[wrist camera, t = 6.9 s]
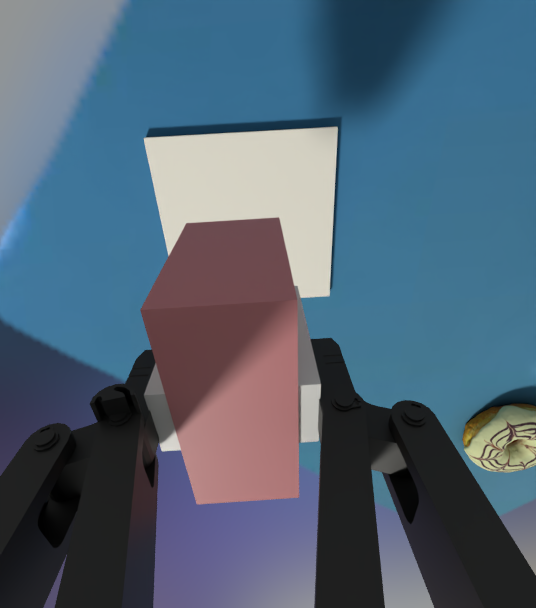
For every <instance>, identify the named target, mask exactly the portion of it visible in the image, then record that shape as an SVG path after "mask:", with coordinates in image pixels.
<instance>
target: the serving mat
mask: <svg viewBox="0 0 536 608" xmlns="http://www.w3.org/2000/svg"><path fill="white" fill-rule="evenodd" d="M337 135H338V127H320V128H302V129H284V130H267V131H249V132H232V133H214V134H197V135H179V136H162V137H146V138H144V142H145V147H146V152H147V157H148V161H149V166H150V171H151V175H152V180H153V185H154V189H155V194H156V199H157V204H158V208H159V213H160V218H161V222H162V227H163V232H164V236H165V241H166V246H167V250H168V255H170V253H171V251H172V249H173V247H174V245H175V244H176V242H177V240H178V238H179V236H180V234H181V232H182V230H183V228H184V226H185V225H186V223H197V222H213V221H229V220H245V219H261V218H277V217H279V219H280V223H281V228H282V232H283V237H284V241H285V246H286V250H287V255H288V259H289V264H290V268H291V273H292V278H293V282H294V286H298V290H299V294H300V298H304V297H321V296H329V294H330V274H331V254H332V234H333V214H334V194H335V175H336V155H337Z"/></svg>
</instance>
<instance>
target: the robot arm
mask: <svg viewBox="0 0 536 608" xmlns="http://www.w3.org/2000/svg"><path fill="white" fill-rule="evenodd" d="M294 287H295V291H296V296H297V306H298V430H299V443H300V442H315V441H319V437H320V442H321V452H320V478H319V505H318V530H317V531H318V532H317V555H316V581H315V606H314V608H385V605H384V595H383V584H382V574H381V564H380V555H379V544H378V534H377V524H376V514H375V503H374V493H373V483H372V472H371V470H375V471H380V472H382V474H383V476H384V479H385V481H386V484H387V486H388V489H389V492H390V494H391V497H392V499H393V502H394V504H395V507H396V510H397V512H398V515H399V517H400V520H401V523H402V525H403V528H404V530H405V533H406V535H407V538H408V541H409V543H410V546H411V548H412V551H413V554H414V556H415V559H416V561H417V564H418V566H419V569H420V571H421V574H422V577H423V579H424V582H425V584H426V587H427V589H428V592H429V594H430V597H431V600H432V603H433V605H434V608H536V575H535V574H534V572H533V570H532V569H531V567H530V566H529V564H528V563H527V561H526V559H525V558H524V556H523V554H522V553H521V551H520V550H519V548H518V547H517V545H516V544H515V542H514V540H513V539H512V537H511V535H510V534H509V532H508V531H507V529H506V528H505V526H504V524H503V523H502V521H501V519H500V518H499V516H498V515H497V513H496V511H495V510H494V508H493V507H492V505H491V503H490V502H489V500H488V499H487V497H486V495H485V494H484V492H483V491H482V489H481V487H480V486H479V484H478V483H477V481H476V480H475V478H474V476H473V475H472V473H471V472H470V470H469V468H468V467H467V465H466V464H465V462H464V460H463V459H462V457H461V456H460V454H459V452H458V451H457V449H456V448H455V446H454V444H453V443H452V441H451V440H450V438H449V436H448V435H447V433H446V432H445V430H444V428H443V427H442V425H441V424H440V422H439V421H438V419H437V417H436V416H435V414H434V413H433V412H432V411H431V410H430V409H429V408H428V407H426V406H425V405H423V404H421V403H418V402H415V401H407V400H404V401H400V402H397V403H396V404H395V405H394V406H393V407H392V409H389V408H383V407H378V406H375V405H371V404H369V403H367V402H365V401H364V400H363V399H362V398H361V397H360V396H359V394H357V393H356V392H355V390H354V387H353V384H352V382H351V379H350V376H349V373H348V370H347V367H346V364H345V361H344V359H343V356H342V353H341V350H340V347H339V345H338V344H337V343H336V342H335V341H334V340H333V339H332V338H323V339H310V336H309V332H308V328H307V323H306V319H305V315H304V311H303V307H302V302H301V298H300V294H299V290H298V286H294ZM90 405H91V408H92V410H93V412H94V414H95V417H96V419H97V421H98V422H97V423H94V424H92V425H89V426H86V427H83V428H80V429H77V430H73V431H71V430H70V428H69V427H68V426H67V425H65V424H61V423H56V424H51V425H47V426H45V427H43V428H41V429H39V430H37V431H36V432H35V433H33V434H32V435H31V436H30V437H29V438H28V439H27V440H26V441H25V442H24V444H23V445H22V447H21V448H20V449H19V451H18V452H17V454H16V455H15V457H14V458H13V459H12V461H11V462H10V464H9V465H8V466H7V468H6V469H5V471H4V472H3V473H2V475H1V476H0V608H43V607H44V604H45V602H46V600H47V598H48V596H49V593H50V591H51V589H52V587H53V584H54V582H55V580H56V577H57V575H58V573H59V570H60V568H61V566H62V564H63V561H64V559H65V557H66V555H67V557H66V562H65V566H64V570H63V574H62V579H61V583H60V587H59V591H58V596H57V600H56V605H55V608H153V594H154V568H155V542H156V541H155V540H156V515H157V514H156V513H157V488H158V459H157V455H156V450H157V446H158V443H160V446H161V449H162V451H172V450H181V448H180V444H179V441H178V437H177V434H176V431H175V427H174V424H173V420H172V417H171V413H170V410H169V407H168V403H167V400H166V396H165V393H164V389H163V386H162V383H161V379H160V376H159V372H158V369H157V365H156V362H155V358H154V355H153V352H152V350H145V351H144V352H143V353H142V354H141V355H140V356H139V357H138V358H137V359H136V361H135V363H134V365H133V368H132V370H131V372H130V374H129V378H128V379H127V381H126V383H125V384H115V385H112V386H109V387H106V388H104V389H103V390H101V391H99V392H98V393H97V394H96V395H95V396H94V397H93V398H92V401H91V402H90Z"/></svg>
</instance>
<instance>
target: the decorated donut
mask: <svg viewBox="0 0 536 608" xmlns="http://www.w3.org/2000/svg"><path fill="white" fill-rule="evenodd" d="M463 443H464V446H465V447H464V450H465V452H466V453H467V454H468V456H469V458H470V459H471V460H472V461H473V462H474V463H476V464H477V465H478V466H480V467H481V468H484V469H486V470H488V471H495V472H513V471H519V470H524V469H527V468H530V467H533V466H535V465H536V406H533V405H529V404H510V405H505V406H500V407H491V408H489V409H488V410H486V411H484V412H481V413H480V414H478V415H477V416H476V417H475V418H473V419H471V420H470V421H469V422H468V423H467V424H466V425H465V430H464V434H463Z"/></svg>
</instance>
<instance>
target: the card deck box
mask: <svg viewBox="0 0 536 608" xmlns="http://www.w3.org/2000/svg"><path fill="white" fill-rule="evenodd" d="M141 314H142V317H143V321H144V324H145V328H146V331H147V334H148V338H149V341H150V345H151V348H152V352H153V355H154V358H155V362H156V365H157V369H158V372H159V376H160V379H161V383H162V386H163V389H164V393H165V396H166V400H167V403H168V407H169V410H170V413H171V417H172V420H173V424H174V427H175V431H176V434H177V437H178V441H179V444H180V448H181V451H182V455H183V458H184V461H185V465H186V468H187V472H188V475H189V479H190V482H191V486H192V489H193V492H194V496H195V499H196V502H197V504H209V503H225V502H240V501H254V500H269V499H284V498H299V430H298V306H297V296H296V291H295V287H294V282H293V278H292V273H291V268H290V264H289V259H288V255H287V250H286V246H285V241H284V237H283V232H282V228H281V223H280V219H279V217H277V218H261V219H245V220H229V221H213V222H197V223H186V225H185V226H184V228H183V230H182V232H181V234H180V236H179V238H178V240H177V242H176V244H175V245H174V247H173V249H172V251H171V253H170V255H169V257H168V259H167V261H166V262H165V264H164V266H163V268H162V270H161V272H160V274H159V276H158V278H157V279H156V281H155V283H154V285H153V287H152V289H151V291H150V293H149V295H148V297H147V298H146V300H145V302H144V304H143V306H142V308H141Z"/></svg>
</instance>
